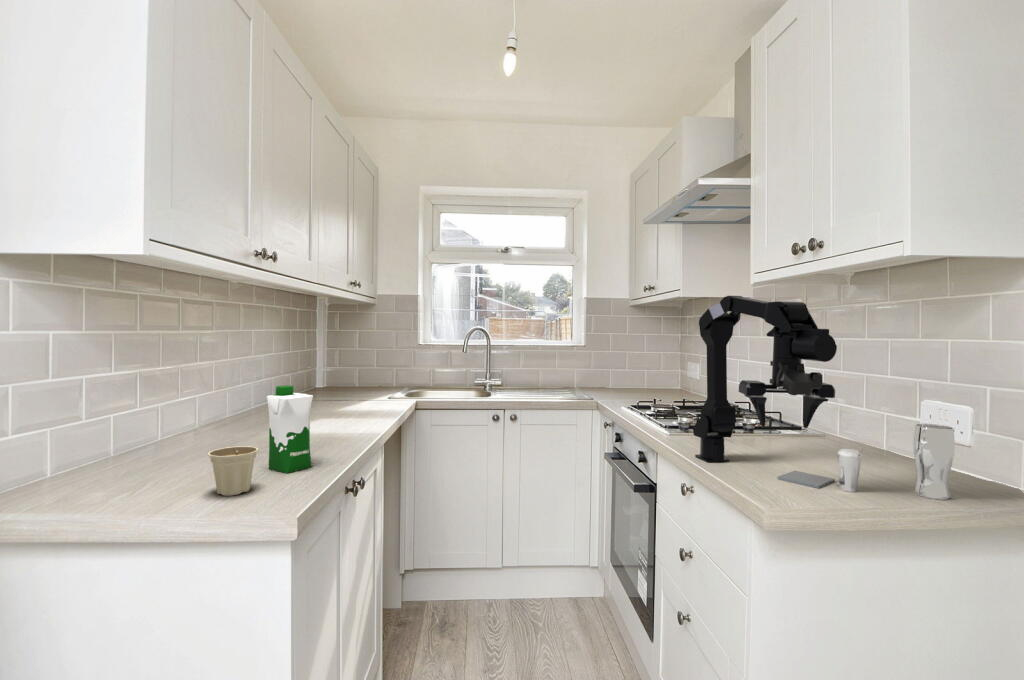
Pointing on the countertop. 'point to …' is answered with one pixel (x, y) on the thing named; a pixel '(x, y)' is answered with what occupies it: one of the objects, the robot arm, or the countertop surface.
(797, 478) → the coaster
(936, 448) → the beer glass
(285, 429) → the milk carton
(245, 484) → the flower pot
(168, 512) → the countertop surface
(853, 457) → the milkshake
